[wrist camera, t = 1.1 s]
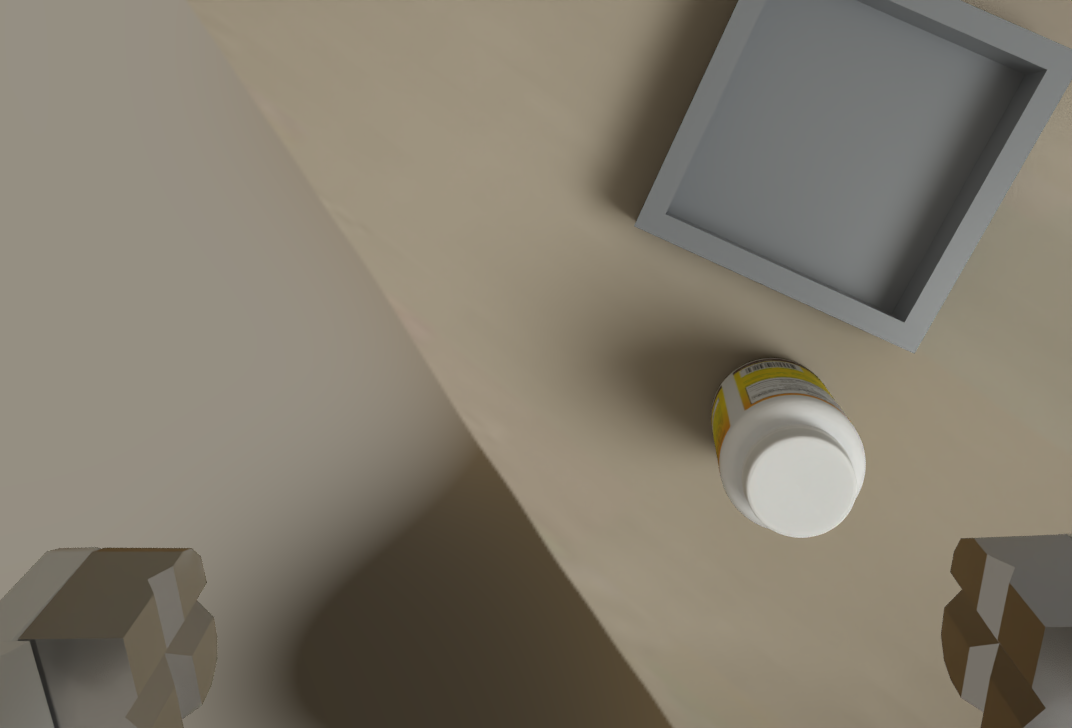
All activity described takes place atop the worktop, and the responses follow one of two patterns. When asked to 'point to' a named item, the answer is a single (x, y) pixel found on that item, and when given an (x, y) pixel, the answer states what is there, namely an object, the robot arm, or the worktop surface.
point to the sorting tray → (856, 151)
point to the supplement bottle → (786, 448)
